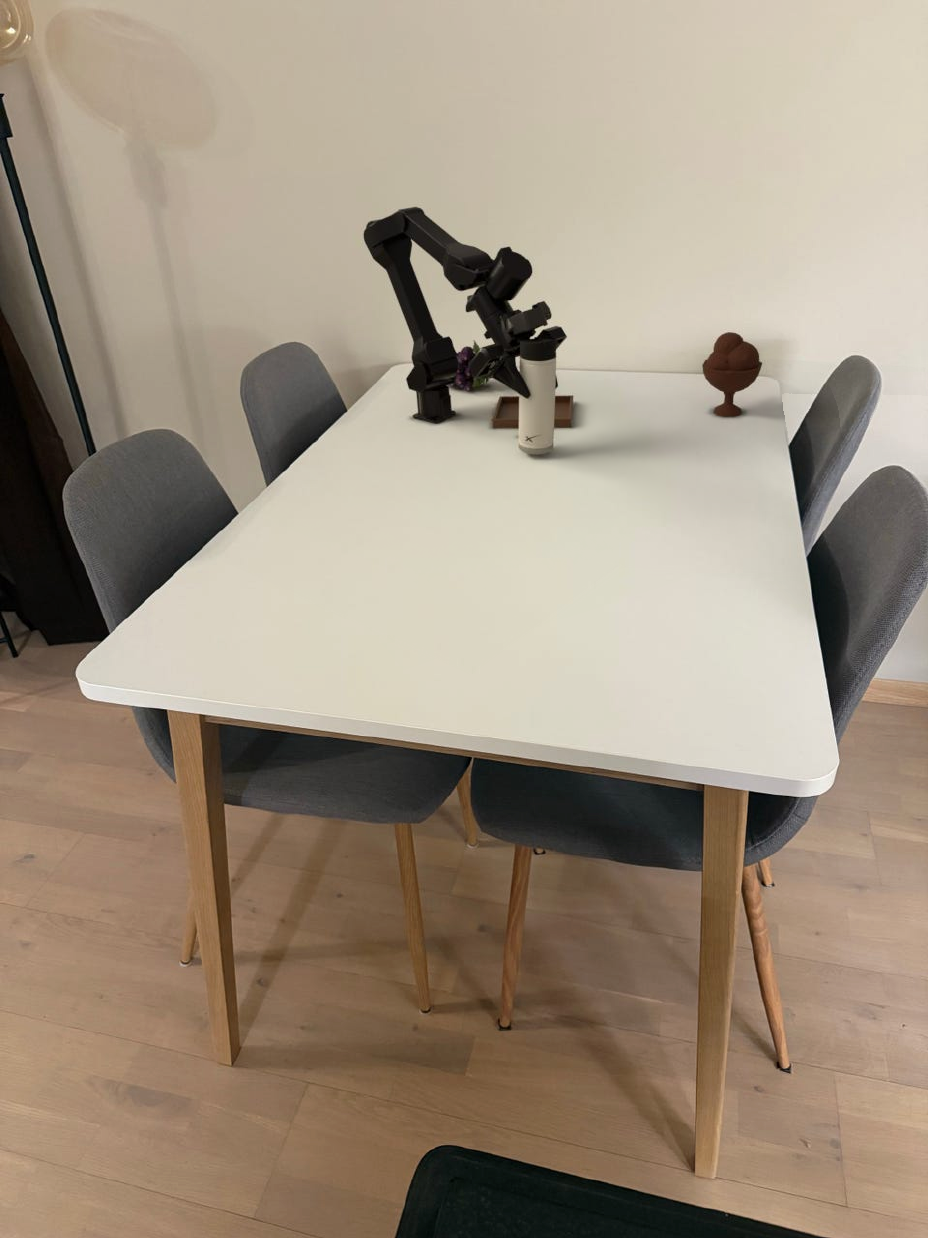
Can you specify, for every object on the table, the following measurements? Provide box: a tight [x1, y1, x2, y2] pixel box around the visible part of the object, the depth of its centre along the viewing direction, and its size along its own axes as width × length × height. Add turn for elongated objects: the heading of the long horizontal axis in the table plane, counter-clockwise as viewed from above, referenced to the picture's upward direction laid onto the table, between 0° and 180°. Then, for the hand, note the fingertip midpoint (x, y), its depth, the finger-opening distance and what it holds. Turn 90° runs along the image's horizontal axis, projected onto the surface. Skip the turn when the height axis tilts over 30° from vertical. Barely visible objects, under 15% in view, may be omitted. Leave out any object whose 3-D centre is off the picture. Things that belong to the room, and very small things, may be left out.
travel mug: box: [518, 336, 557, 455], centre depth 157 cm, size 6×7×20 cm
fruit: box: [449, 340, 491, 392], centre depth 195 cm, size 10×11×15 cm
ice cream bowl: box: [701, 331, 763, 418], centre depth 172 cm, size 11×11×15 cm
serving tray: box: [491, 394, 574, 429], centre depth 180 cm, size 15×14×2 cm
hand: (542, 392), depth 156 cm, fingers closed on travel mug, 6 cm apart
